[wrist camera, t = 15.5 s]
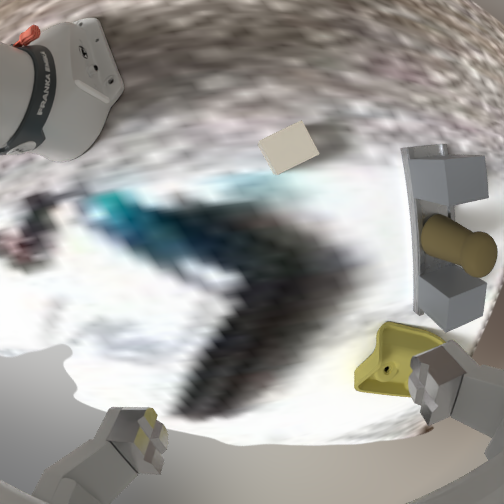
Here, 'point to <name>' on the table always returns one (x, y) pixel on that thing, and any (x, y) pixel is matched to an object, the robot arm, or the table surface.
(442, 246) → the cork
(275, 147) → the beige block
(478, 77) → the table surface
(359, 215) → the table surface
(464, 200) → the block
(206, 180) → the table surface
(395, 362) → the plastic component
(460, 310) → the block
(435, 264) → the rail
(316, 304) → the table surface
